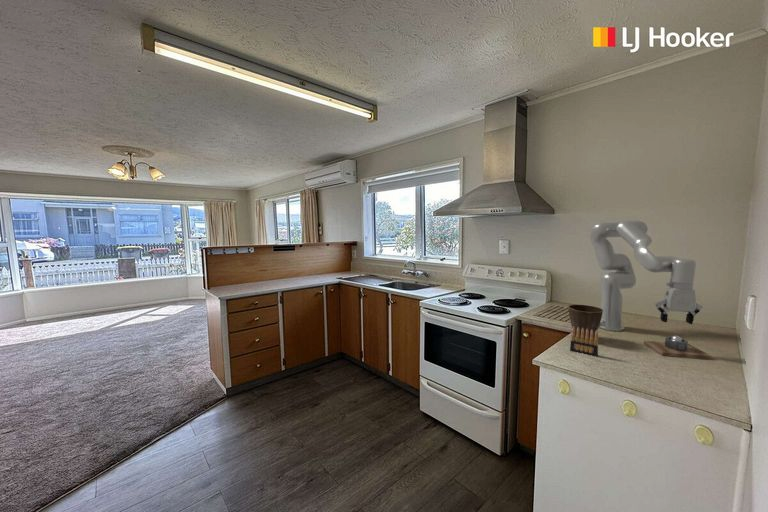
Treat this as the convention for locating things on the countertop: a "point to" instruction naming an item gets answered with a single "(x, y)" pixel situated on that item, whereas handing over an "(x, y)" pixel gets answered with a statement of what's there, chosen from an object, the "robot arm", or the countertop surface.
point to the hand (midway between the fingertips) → (676, 322)
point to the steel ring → (676, 344)
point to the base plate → (689, 353)
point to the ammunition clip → (583, 345)
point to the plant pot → (585, 318)
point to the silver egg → (676, 338)
